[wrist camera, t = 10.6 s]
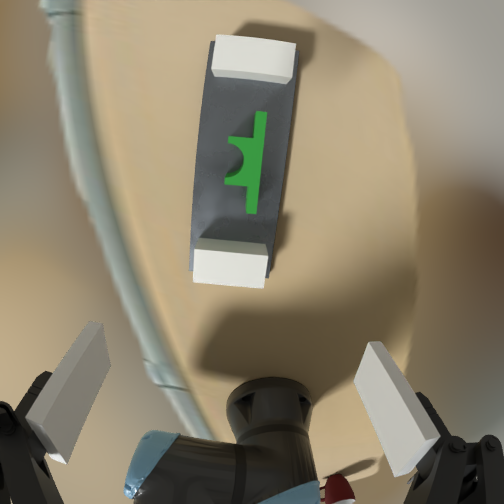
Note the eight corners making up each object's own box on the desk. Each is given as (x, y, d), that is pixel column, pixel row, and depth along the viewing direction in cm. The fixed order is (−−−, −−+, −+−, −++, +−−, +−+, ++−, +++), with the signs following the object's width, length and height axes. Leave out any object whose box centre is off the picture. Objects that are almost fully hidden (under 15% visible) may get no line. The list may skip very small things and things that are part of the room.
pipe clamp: (232, 112, 30) (231, 108, 26) (264, 115, 31) (267, 111, 27) (224, 203, 34) (221, 211, 30) (254, 205, 34) (256, 214, 30)
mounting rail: (267, 274, 39) (271, 293, 34) (190, 266, 38) (184, 285, 33) (297, 53, 29) (306, 41, 24) (211, 44, 28) (207, 30, 23)
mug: (315, 486, 66) (320, 513, 56) (309, 478, 63) (314, 507, 53) (349, 476, 65) (356, 502, 55) (346, 468, 62) (354, 496, 52)
